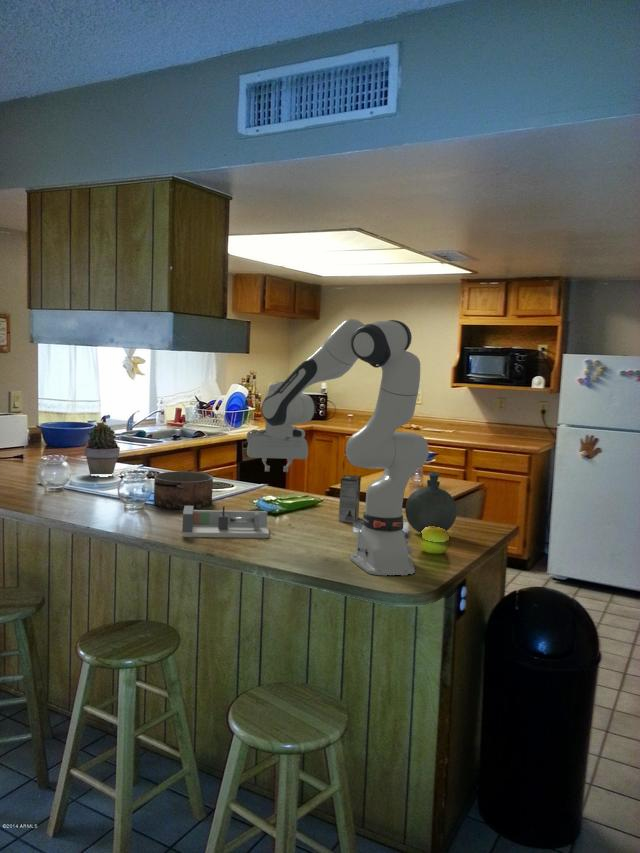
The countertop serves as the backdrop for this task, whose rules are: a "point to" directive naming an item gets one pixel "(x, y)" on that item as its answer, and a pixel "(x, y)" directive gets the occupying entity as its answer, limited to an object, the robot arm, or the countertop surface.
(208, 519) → the gauge bed
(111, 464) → the potted plant
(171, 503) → the cooking pot
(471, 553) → the countertop surface
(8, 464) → the countertop surface
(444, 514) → the flask
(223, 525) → the needle rider
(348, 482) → the coffee box
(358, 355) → the robot arm
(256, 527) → the plunger
